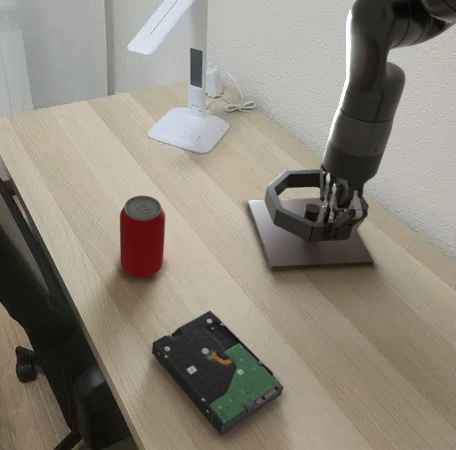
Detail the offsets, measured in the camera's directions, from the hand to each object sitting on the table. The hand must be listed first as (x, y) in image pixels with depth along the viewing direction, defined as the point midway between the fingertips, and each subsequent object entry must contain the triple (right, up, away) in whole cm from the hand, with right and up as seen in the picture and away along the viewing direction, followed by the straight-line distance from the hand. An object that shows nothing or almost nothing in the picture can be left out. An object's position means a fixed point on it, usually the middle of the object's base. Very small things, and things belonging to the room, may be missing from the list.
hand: (328, 234), depth 86 cm
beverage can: (-29, -5, +2) cm, 30 cm away
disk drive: (-19, -18, -13) cm, 29 cm away
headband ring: (-1, +4, +6) cm, 7 cm away
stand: (-1, 0, +9) cm, 9 cm away
